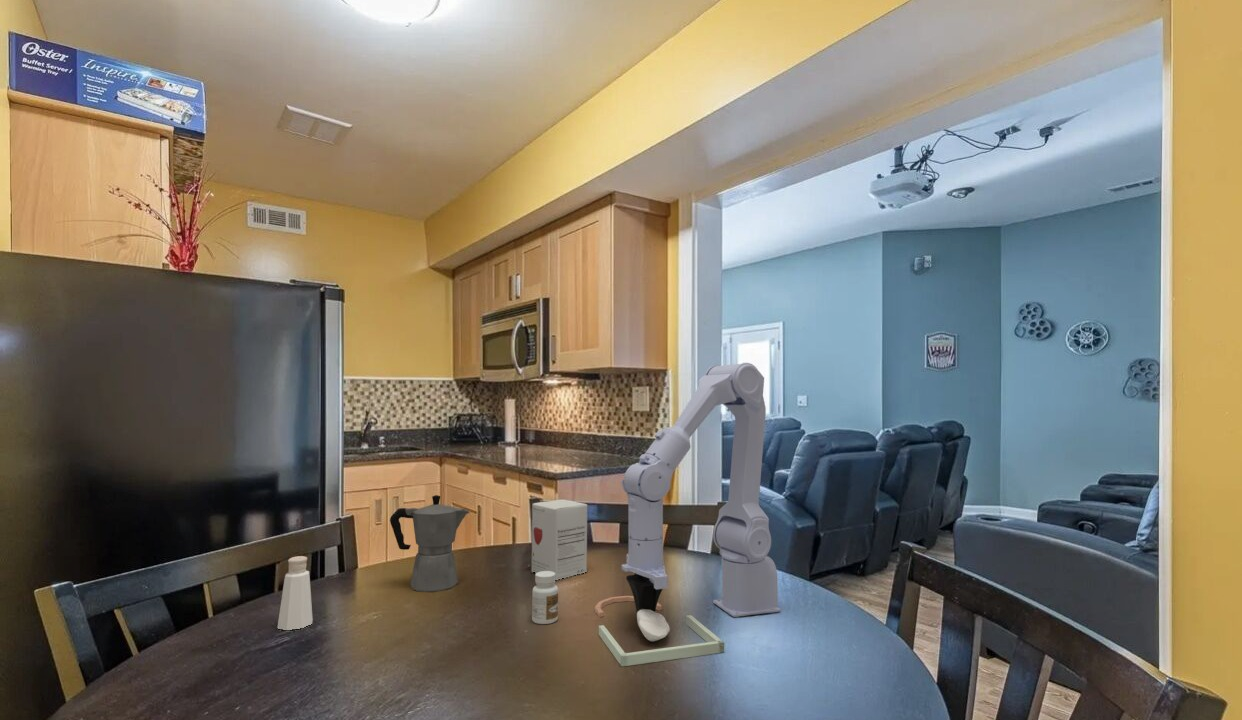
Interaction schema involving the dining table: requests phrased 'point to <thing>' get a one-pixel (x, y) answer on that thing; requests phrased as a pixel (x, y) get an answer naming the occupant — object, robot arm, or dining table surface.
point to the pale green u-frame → (670, 653)
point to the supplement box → (559, 537)
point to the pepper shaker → (296, 596)
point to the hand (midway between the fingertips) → (645, 621)
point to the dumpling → (652, 624)
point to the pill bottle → (545, 598)
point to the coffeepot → (431, 544)
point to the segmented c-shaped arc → (616, 599)
